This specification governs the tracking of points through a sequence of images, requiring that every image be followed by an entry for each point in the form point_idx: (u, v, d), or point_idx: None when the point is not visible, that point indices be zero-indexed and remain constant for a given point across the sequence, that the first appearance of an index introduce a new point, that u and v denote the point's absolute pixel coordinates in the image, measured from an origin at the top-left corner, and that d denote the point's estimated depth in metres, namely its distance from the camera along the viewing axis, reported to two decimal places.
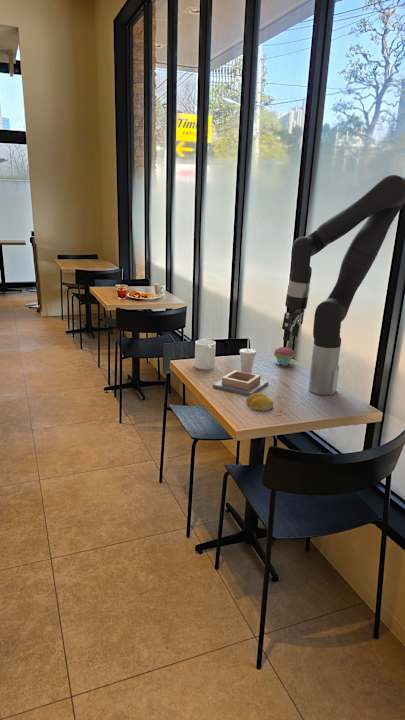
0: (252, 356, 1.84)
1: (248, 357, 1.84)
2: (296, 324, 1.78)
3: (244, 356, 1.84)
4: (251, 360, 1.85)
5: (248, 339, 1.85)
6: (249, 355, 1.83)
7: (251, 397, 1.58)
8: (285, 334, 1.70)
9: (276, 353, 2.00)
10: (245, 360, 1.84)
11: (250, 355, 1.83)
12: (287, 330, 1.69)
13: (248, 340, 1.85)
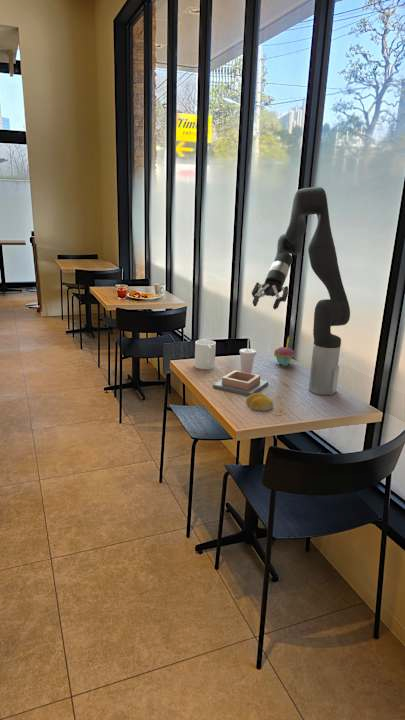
0: (252, 356, 1.84)
1: (248, 357, 1.84)
2: None
3: (244, 356, 1.84)
4: (251, 360, 1.85)
5: (248, 339, 1.85)
6: (249, 355, 1.83)
7: (251, 397, 1.58)
8: None
9: (276, 353, 2.00)
10: (245, 360, 1.84)
11: (250, 355, 1.83)
12: (253, 295, 1.96)
13: (248, 340, 1.85)
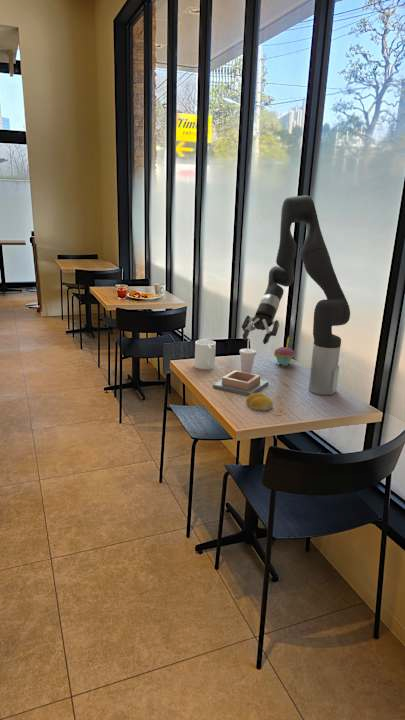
0: (252, 356, 1.84)
1: (248, 357, 1.84)
2: None
3: (244, 356, 1.84)
4: (251, 360, 1.85)
5: (248, 339, 1.85)
6: (249, 355, 1.83)
7: (251, 397, 1.58)
8: None
9: (276, 353, 2.00)
10: (245, 360, 1.84)
11: (250, 355, 1.83)
12: (243, 329, 1.94)
13: (248, 340, 1.85)
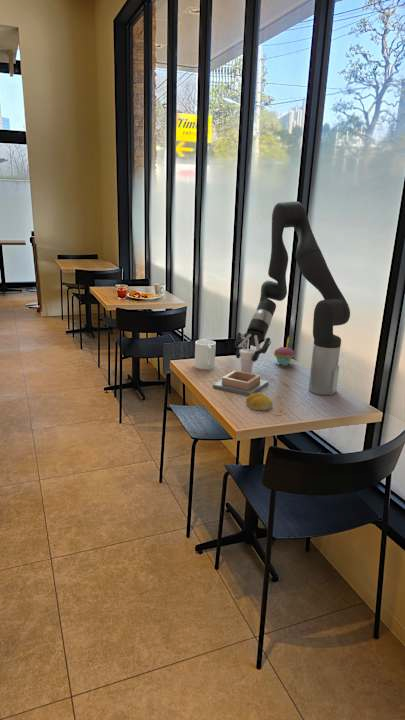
0: (252, 356, 1.84)
1: (248, 357, 1.84)
2: None
3: (244, 356, 1.84)
4: (251, 360, 1.85)
5: (248, 339, 1.85)
6: (249, 355, 1.83)
7: (250, 397, 1.58)
8: None
9: (276, 353, 2.00)
10: (245, 360, 1.84)
11: (250, 355, 1.83)
12: (236, 346, 1.89)
13: (248, 340, 1.85)
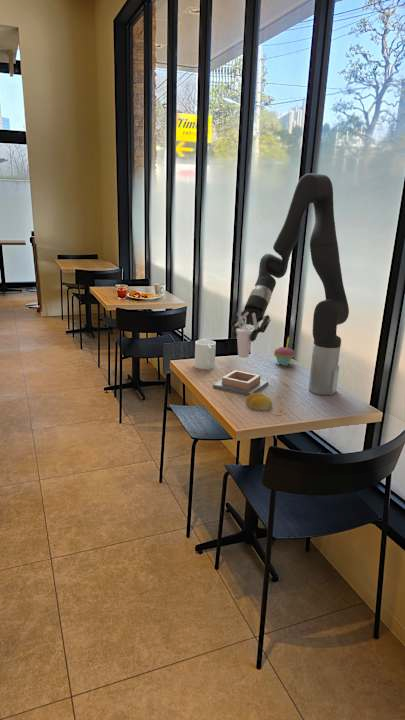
0: (250, 335, 1.69)
1: (245, 336, 1.68)
2: None
3: (241, 335, 1.68)
4: (249, 340, 1.69)
5: (245, 317, 1.69)
6: (246, 334, 1.68)
7: (250, 397, 1.58)
8: None
9: (276, 353, 2.00)
10: (242, 340, 1.69)
11: (247, 334, 1.68)
12: (233, 325, 1.73)
13: (245, 318, 1.69)
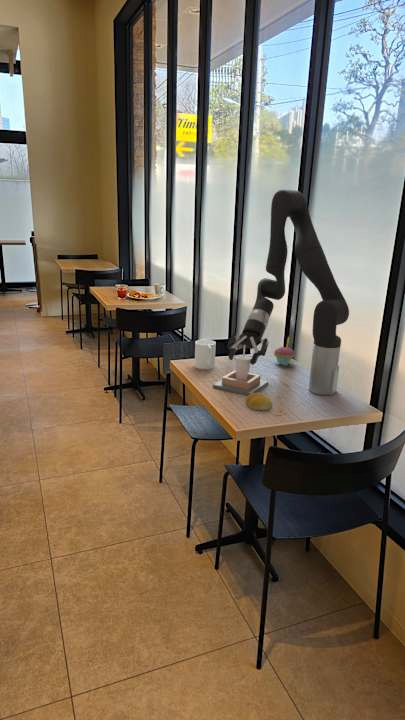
0: (248, 363, 1.71)
1: (244, 364, 1.71)
2: None
3: (239, 363, 1.71)
4: (247, 367, 1.72)
5: (244, 345, 1.72)
6: (245, 362, 1.71)
7: (250, 397, 1.58)
8: None
9: (276, 353, 2.00)
10: (240, 367, 1.72)
11: (246, 362, 1.71)
12: (229, 347, 1.76)
13: (244, 346, 1.72)
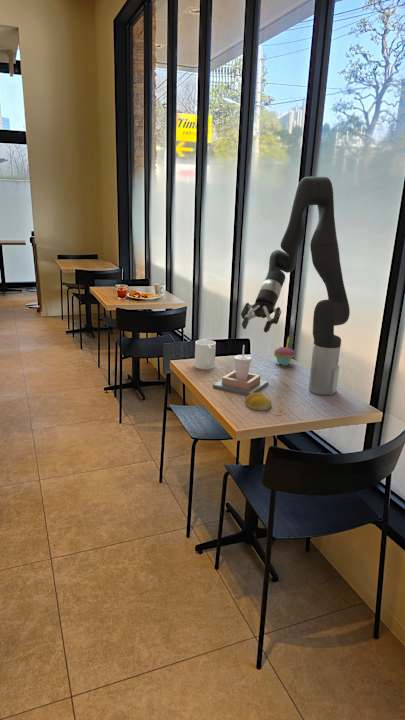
0: (247, 363, 1.71)
1: (243, 364, 1.71)
2: None
3: (239, 363, 1.71)
4: (246, 367, 1.72)
5: (243, 345, 1.72)
6: (244, 362, 1.70)
7: (250, 397, 1.58)
8: None
9: (276, 353, 2.00)
10: (240, 367, 1.72)
11: (245, 362, 1.71)
12: (243, 316, 1.81)
13: (243, 346, 1.72)
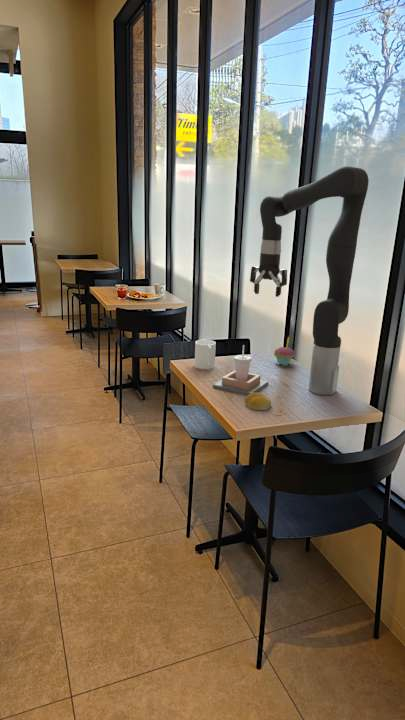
0: (247, 363, 1.71)
1: (243, 364, 1.71)
2: None
3: (239, 363, 1.71)
4: (246, 367, 1.72)
5: (243, 345, 1.72)
6: (244, 362, 1.70)
7: (249, 397, 1.58)
8: None
9: (276, 353, 2.00)
10: (240, 367, 1.72)
11: (245, 362, 1.71)
12: None
13: (243, 346, 1.72)
